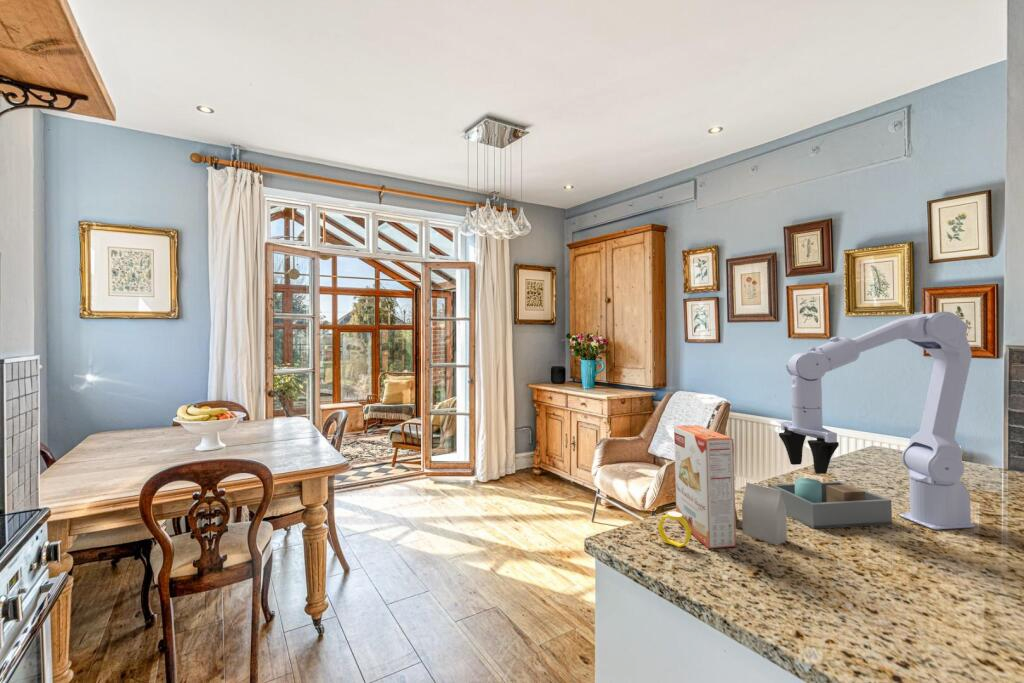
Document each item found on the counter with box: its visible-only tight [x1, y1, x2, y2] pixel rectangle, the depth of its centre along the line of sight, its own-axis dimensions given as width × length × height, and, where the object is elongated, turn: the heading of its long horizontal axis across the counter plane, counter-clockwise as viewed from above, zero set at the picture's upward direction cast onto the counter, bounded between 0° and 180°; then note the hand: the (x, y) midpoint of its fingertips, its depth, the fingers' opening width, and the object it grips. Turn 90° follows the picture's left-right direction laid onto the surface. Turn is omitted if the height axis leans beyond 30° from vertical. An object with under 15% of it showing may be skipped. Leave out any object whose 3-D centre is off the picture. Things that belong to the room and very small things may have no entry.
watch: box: [657, 511, 692, 548], centre depth 90 cm, size 6×3×6 cm, turn 46°
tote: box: [769, 480, 893, 530], centre depth 104 cm, size 18×14×5 cm
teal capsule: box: [794, 477, 822, 503], centre depth 103 cm, size 5×5×7 cm
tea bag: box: [741, 482, 788, 546], centre depth 93 cm, size 4×7×10 cm, turn 34°
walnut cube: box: [826, 484, 866, 502], centre depth 104 cm, size 5×5×5 cm
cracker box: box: [673, 424, 737, 549], centre depth 95 cm, size 14×6×21 cm, turn 5°
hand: (807, 468), depth 103 cm, fingers open, 7 cm apart
